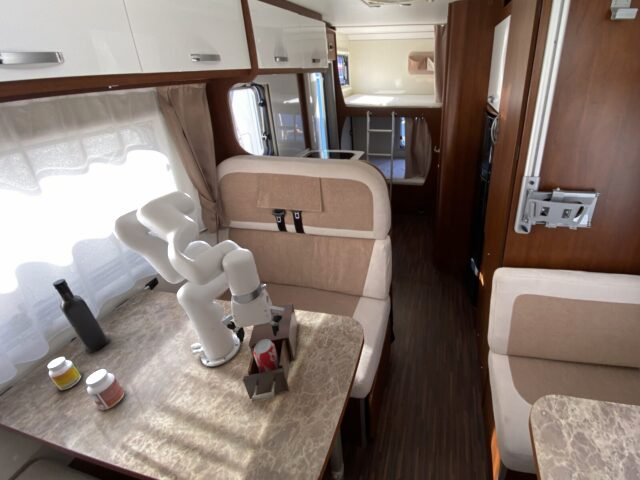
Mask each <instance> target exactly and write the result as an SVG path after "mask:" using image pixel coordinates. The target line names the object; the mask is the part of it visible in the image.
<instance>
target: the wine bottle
mask: <svg viewBox="0 0 640 480" xmlns="http://www.w3.org/2000/svg"><path fill="white" fill-rule="evenodd" d="M52 286H53V287H54V289H55V290H56V291H57V293H58V294H59V296H60V298H61V300H62V301H61V302H60V304H59V307H60V308H59V309H60V310H61V311H62V313H63V315H64V317H65V318H66V319H67V321H68V323H69V324H70V326H71V327H72V329H73V331H74V332H75V333H76V336H77V337H78V338H79V340H80V341H81V343H82V344H83V346H84V348H85V349H86V350H87V351H88V352H89V353H93V352H96V351H97V350H99V349H100V348H102V347H104V346H105V345H107V344H108V343H109V340H108V338H107V336H106V334H105V333H104V331H103V329H102V326H100V323H99V322H98V320H97V319H96V318H95V316H94V313H93V312H92V310H91V309H90V307H89V306H88V304H87V302H86V301H85V300H84V298H83V297H82V296H81V295H77V294H74V293H73V292H72V290H71V288H70V287H69V285H68V282H67V281H66V279H65V278H61V279H57V280H55V281H54V282H52Z"/></svg>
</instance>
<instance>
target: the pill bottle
mask: <svg viewBox="0 0 640 480" xmlns="http://www.w3.org/2000/svg"><path fill="white" fill-rule="evenodd" d="M85 383H86V386H87V389H86V391H87V393H88V395H89V396H90V398H91V399H92V401H94V403H95V404H96V406H97V407H98V409H99V410H103V411H105V410H109V409H111V408H113V407H115V406H116V405H117V404H118V403H120V401H122V399H123V397H124V395H125V391H124V389H123V388H122V386H121V384H120V382H118V380H117V378H116V377H115V375H114V374H113V373H110V372H108V371H107V370H106V369H104V368H102V369H99V370H96V371H94V372H92V373H91V374H90V375H89V376H88V377H87V379H86V380H85Z"/></svg>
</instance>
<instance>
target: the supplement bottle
mask: <svg viewBox="0 0 640 480" xmlns="http://www.w3.org/2000/svg"><path fill="white" fill-rule="evenodd" d="M47 369H48V370H49V371H48V376H49V377H50V379H51V380H52V382H53V383H54V384H55V386H56V387H57V388H58V389H59V390H60V391H64V390H67V389H70V388H72V387H73V386H75V385H76V384H77V383H78V382H80V380H81V378H82V375H81V373H80V372H79V370H78V369H77V367H76V366H75V365H74V363H73V362H72V361H71V360H67V358H65V356H60V357H57V358H55V359H53V360H51V361H50V362H49V363H48V364H47Z"/></svg>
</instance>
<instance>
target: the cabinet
mask: <svg viewBox="0 0 640 480" xmlns="http://www.w3.org/2000/svg"><path fill="white" fill-rule="evenodd" d="M276 307H281V308H285V312H284V315H283V317H282V319H281V320H280V321H279V322H278V324H279V331H277V336H274V334H273V330H272V324H270V323H265V324H259V325H254V326H252V330H251V333H250V338H249V342H248V347H249V350H250V353H251V355H252V351H253V347H254V345H256V344H257V343H258V342H260V341H261V340H264V339H268V340H270V341H271V342H275V341H280V340H285V339H287V342H288V346H289V350H290V360H289V361H293V360H295V356H296V355H295V354H296V347H297V336H298V335H297V334H298V324H299V323H298V320H297V316H296V311H295V307H294V303H293V302H291V303H286V304H279V305H276ZM272 313H273V314H275V315H278V314H279V313H274V312H272ZM271 319H273V318H271Z"/></svg>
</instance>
